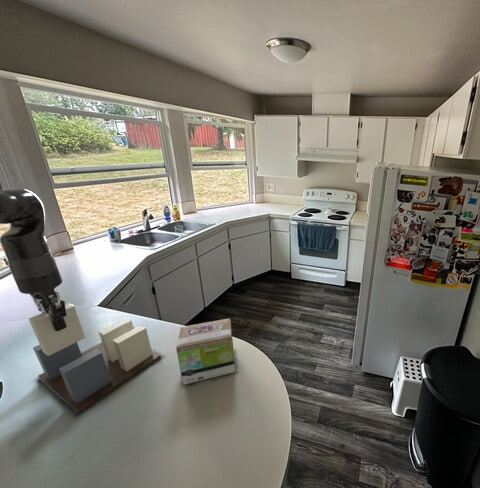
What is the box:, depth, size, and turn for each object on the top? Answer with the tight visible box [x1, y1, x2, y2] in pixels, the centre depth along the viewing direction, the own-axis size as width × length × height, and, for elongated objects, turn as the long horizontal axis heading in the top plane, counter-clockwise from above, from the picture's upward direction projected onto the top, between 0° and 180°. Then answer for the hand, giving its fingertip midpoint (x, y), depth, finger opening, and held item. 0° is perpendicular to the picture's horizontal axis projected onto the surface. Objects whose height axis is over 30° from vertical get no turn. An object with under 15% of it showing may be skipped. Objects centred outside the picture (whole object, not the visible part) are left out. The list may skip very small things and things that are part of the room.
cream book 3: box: [112, 325, 153, 372], centre depth 80 cm, size 8×3×11 cm, turn 154°
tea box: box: [175, 318, 236, 386], centre depth 79 cm, size 15×10×15 cm, turn 111°
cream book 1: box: [28, 303, 86, 356], centre depth 69 cm, size 8×3×11 cm, turn 154°
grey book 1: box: [32, 342, 82, 380], centre depth 76 cm, size 8×3×11 cm, turn 154°
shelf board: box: [37, 342, 162, 415], centre depth 80 cm, size 22×24×1 cm
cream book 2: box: [98, 317, 135, 362], centre depth 83 cm, size 8×3×11 cm, turn 154°
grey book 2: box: [59, 349, 111, 404], centre depth 70 cm, size 8×3×11 cm, turn 154°
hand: (58, 326), depth 68 cm, fingers closed on cream book 1, 3 cm apart
